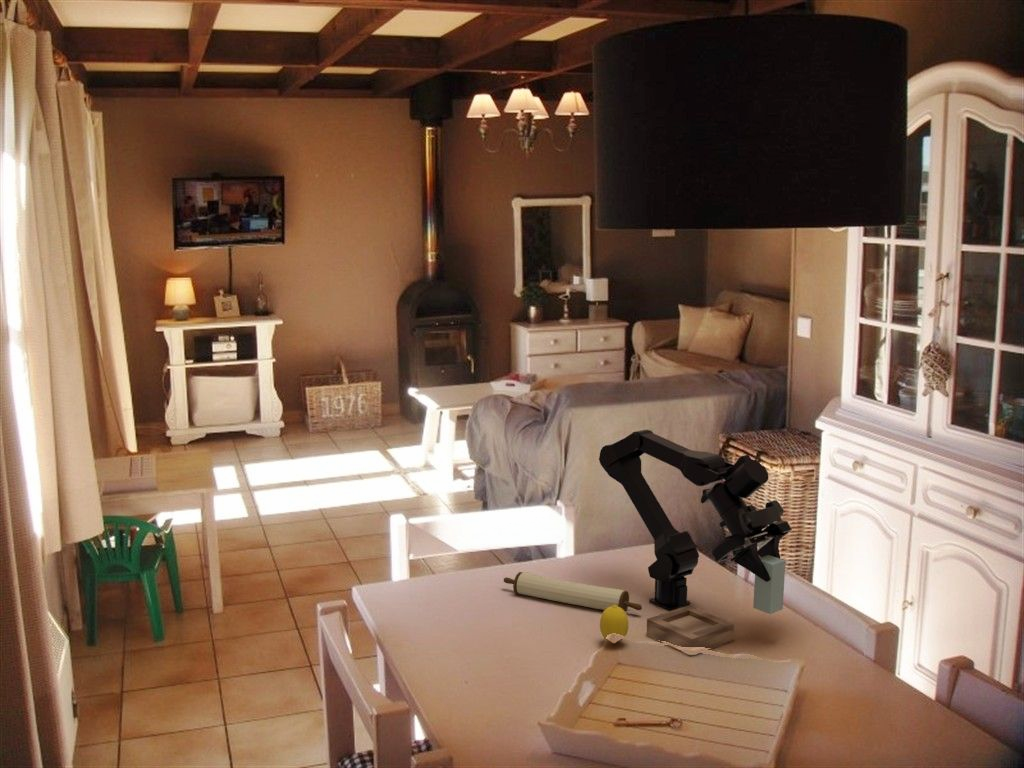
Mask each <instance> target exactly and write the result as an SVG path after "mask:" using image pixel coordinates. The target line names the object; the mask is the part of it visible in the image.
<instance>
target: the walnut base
mask: <svg viewBox="0 0 1024 768" xmlns="http://www.w3.org/2000/svg"><path fill="white" fill-rule="evenodd" d="M734 636H735V624H734V623H732V622H730V621H728V620H725V619H723V618H721V617H719V616H715V615H713V614H712V613H710V612H706V611H705V610H704V611H703V610H701V609H699V608H696V607H694V606H691V604H689V605H686V606H683V607H680V608H677V609H674V610H669V611H667V612H664V613H661V614H658V615H657V614H656V615H654V616H653V617H652V616H651V617H649V618H646V637H649V638H651V639H653V640H655V641H657V640H660V641H666V642H669V643H671V644H673V645H677V646H681V647H705V648H711V649H710V650H713V649H715V648H718V647H721V646H724V645H726V644H729V643H732V642H734Z"/></svg>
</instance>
